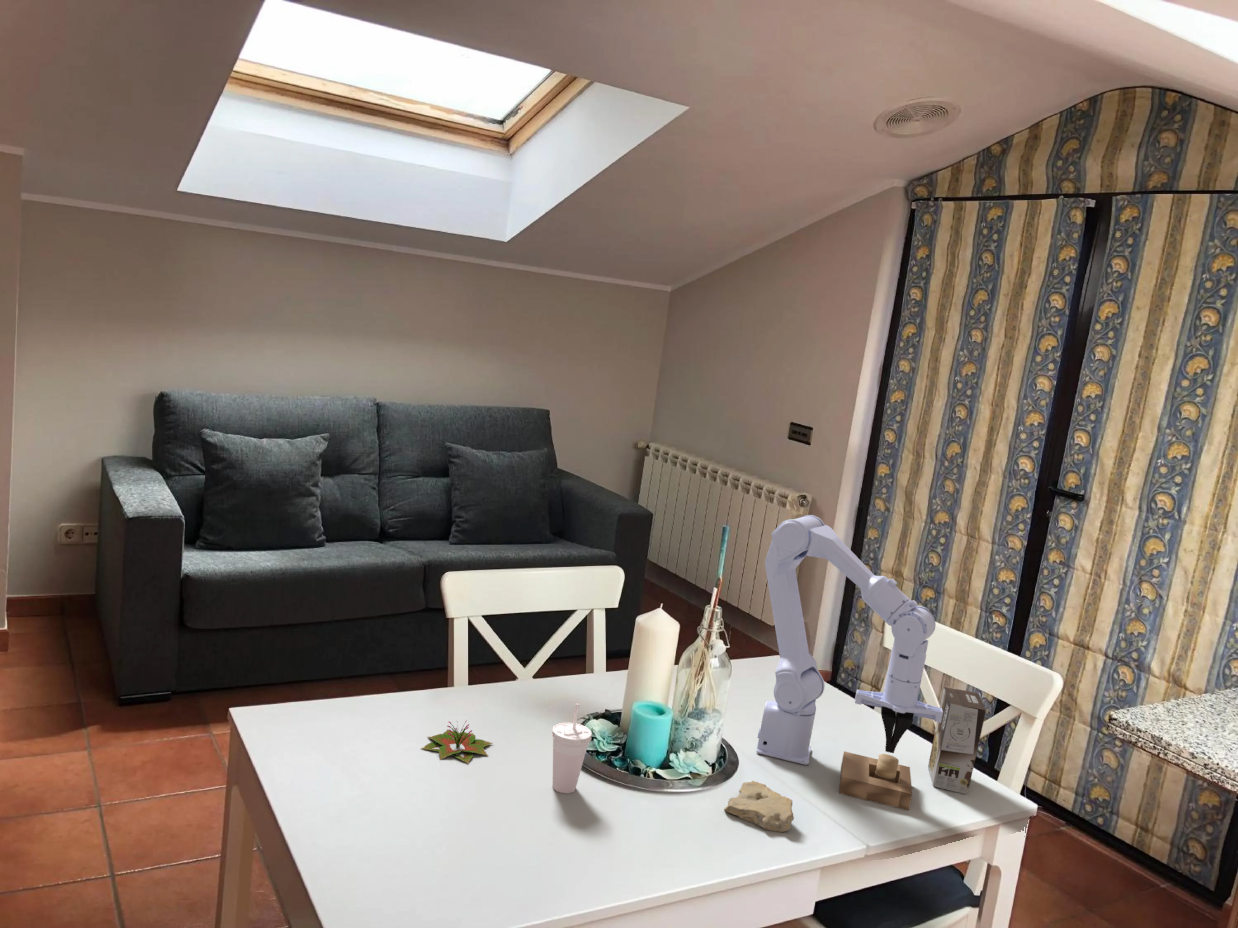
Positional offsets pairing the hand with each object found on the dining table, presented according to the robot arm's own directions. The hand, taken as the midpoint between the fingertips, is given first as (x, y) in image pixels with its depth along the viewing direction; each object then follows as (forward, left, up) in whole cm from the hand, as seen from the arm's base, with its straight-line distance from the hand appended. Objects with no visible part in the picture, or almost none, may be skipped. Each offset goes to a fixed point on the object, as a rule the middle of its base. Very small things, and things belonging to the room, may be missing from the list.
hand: (889, 750), depth 171 cm
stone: (-21, -20, -8) cm, 30 cm away
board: (-1, 0, -7) cm, 8 cm away
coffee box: (+12, +11, -8) cm, 18 cm away
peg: (0, 0, -7) cm, 7 cm away
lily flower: (-70, -24, -8) cm, 75 cm away
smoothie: (-50, -28, -8) cm, 58 cm away
